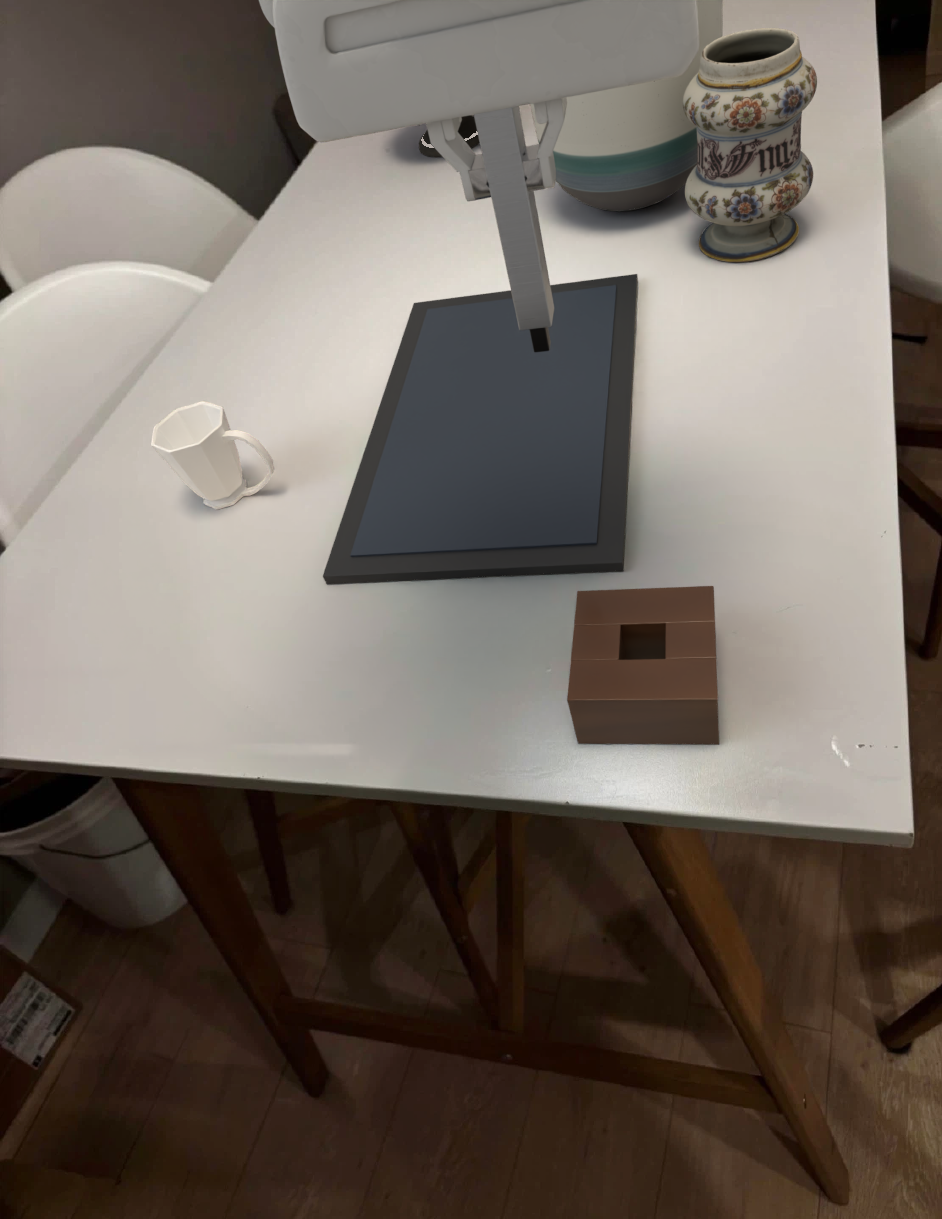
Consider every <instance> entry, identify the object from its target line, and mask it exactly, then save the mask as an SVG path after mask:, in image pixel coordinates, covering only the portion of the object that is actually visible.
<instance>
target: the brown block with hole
mask: <svg viewBox="0 0 942 1219" xmlns="http://www.w3.org/2000/svg"><path fill="white" fill-rule="evenodd" d="M715 608H716V606H715V586H714V585H697V586H695V585H694V586H671V587H647V588H646V587H645V588H643V587H642V588H621V589H619V588H618V589H617V588H615V589H596V590H593V589H592V590H591V589H590V590H577V592H576V600H575V610H574V611H575V612H574V620H573V630H572V631H573V633H572V642H571V654H570V665H569V674H568V675H569V676H568V686H567V695H566V701H567V705H568V709H569V713H570V717H571V721H572V726H573V730H574V732H575V737H576V741H577V744H578V745H580V744H581V745H582V744H583V745H705V746H706V745H709V746H711V745H713V746H715V745H716V746H717V745H720V723H719V721H720V720H719V697H718V696H719V693H718V690H719V689H718V667H717V666H718V665H717V664H718V663H717V662H718V661H717V638H716V637H717V636H716V635H717V634H716V610H715Z"/></svg>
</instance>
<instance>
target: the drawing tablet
mask: <svg viewBox="0 0 942 1219" xmlns="http://www.w3.org/2000/svg"><path fill="white" fill-rule="evenodd" d="M638 276H639V275H638V273H633V274H625V275H617V276H610V277H603V278H595V279H587V280H580V281H578V280H577V281H572V282H571V281H570V282H565V283H556V284H550V287H551V292H552V298H553V304H554V313H553V320H552V326H551V327H548V330H549V335H550V341H551V343H550V350H549V351H544V352H534V350H533V345H532V340H531V335H530V330H529V329H528V330H520V329H519V326H518V321H517V316H516V311H515V307H514V302H513V297H512V293H511V289H509V290H503V291H495V292H488V293H479V294H473V295H472V294H470V295H464V296H456V297H448V298H441V299H434V300H426V301H418V302H417V301H416V302H413V304H412V307H411V311H410V313H409V317H408V319H407V322H406V325H405V328H404V331H403V334H402V337H401V340H400V343H399V347H398V349H397V352H396V355H395V358H394V361H393V364H392V367H391V370H390V373H389V375H388V376H389V377H388V379H387V382H386V385H385V388H384V392H383V394H382V397H381V400H380V403H379V406H378V409H377V412H376V415H375V418H374V421H373V424H372V427H371V430H370V433H369V436H368V439H367V442H366V445H365V448H364V451H363V454H362V457H361V460H360V463H359V466H358V469H357V472H356V475H355V478H354V480H353V484H352V486H351V489H350V493H349V496H348V499H347V501H346V504H345V508H344V511H343V514H342V517H341V520H340V523H339V525H338V529H337V532H336V535H335V538H334V540H333V544H332V547H331V550H330V553H329V556H328V559H327V562H326V565H325V568H324V571H323V574H322V578H323V580H324V582H325V584H326V585H339V584H341V585H342V584H363V583H366V584H367V583H386V582H406V581H407V582H408V581H411V582H413V581H430V580H431V581H432V580H433V581H434V580H452V579H453V580H454V579H475V578H476V579H479V578H499V577H500V578H502V577H522V576H545V575H547V576H548V575H565V574H566V575H567V574H568V575H569V574H571V575H572V574H590V573H595V574H596V573H615V572H616V573H617V572H625V554H626V533H627V516H628V514H627V513H628V496H629V477H630V476H629V474H630V455H631V454H630V453H631V434H632V433H631V432H632V417H633V416H632V414H633V393H634V392H633V391H634V372H635V356H636V355H635V354H636V352H635V351H636V333H637V332H636V331H637V315H638V314H637V311H638V293H639V292H638V291H639V277H638Z"/></svg>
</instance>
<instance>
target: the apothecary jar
mask: <svg viewBox="0 0 942 1219" xmlns="http://www.w3.org/2000/svg"><path fill="white" fill-rule="evenodd" d="M700 65H701V66H700V68H699V72H698V73H697V74H696V75H695V77H694V78H693V79H692V80H691V82H690V83H689V85H688V86H687V88H686V91H685V93H684V97H683V109H684V113H685V115H686V117H687V118H688V120H689V121H690V122H691V123H693V124H694V125H695V126H697V165H696V166H695V167H694V169H693V170H692V171H691V173H690V175H689V177H688V179H687V181H686V183H685V184H684V197H685V201H686V203H687V205H688V208H690V210H691V211H692V212H693V213H694V214H696V215H697V216H698V217H700V218H702V219H703V220H705V221H708V222H710V224H708V225H707V226H706V227H705V228H704V230H703V231H702V232H701V234H700V236H699V240H698V247H699V249H700V251H701V252H702V253H703V254H704V255H705V256H707V257H709V258H711V259H714V260H717V261H721V262H727V263H747V262H754V261H758V260H763V259H766V258H770V257H773V256H775V255H778V254H780V253H781V252H784V250H786V249H788V248H789V247H791V245H792V244H793V243H794V242H795V241H796V240H797V238H798V236H799V233H800V227H799V224H798V222H797V221H796V219H795V218H794V217H792V216H791V215H789V214H788V213H789V212H790V211H792V210H793V209H794V208H795V207H797V206H798V205H799V204H800V203H801V202H802V201H803V200H804V199H805V198H806V197H807V195H808V193H809V192H810V190H811V188H812V185H813V180H814V169H813V165H812V163H811V160H810V159H809V157H808V156H807V155H806V153H804V152H803V151H802V137H801V136H802V116H803V111H804V110H805V109H806V108H807V107H808V106H809V105H810V103H811V102H812V101H813V98H814V96H815V94H816V93H817V92H816V91H817V89H818V88H817V87H818V77H817V72H816V70H815V68H814V67H813V65H812V63H811V62H810V61H809V60H807V58H805V57H803V54H802V51H801V44H800V38H799V36H798V34H797V33H795V32H794V31H792V30H789V29H786V28H778V27H762V28H753V29H746V30H740V31H736V32H733V33H729V34H726V35H723V37H720V38H718V39H716V40H714V41H713V42H711V43H709V44H708V45H707V46H706V47H705V48H704V49H703V51H702V54H701V61H700Z"/></svg>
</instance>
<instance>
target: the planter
mask: <svg viewBox="0 0 942 1219" xmlns="http://www.w3.org/2000/svg"><path fill="white" fill-rule="evenodd" d="M723 4H724V2H723V0H697V10H698V24H699V50H698V53H697V54H696V56H695V58H694V60H693V61H692V63H691V64H690V66H689V67H688V69H687V70H686V72H685V73H684V74H682V75H680V76H677V77H673V78H667V79H662V80H656V81H651V82H645V83H640V84H635V85H629V86H624V87H619V88H613V89H608V90H603V91H597V92H592V93H587V94H581V95H576V96H571V97H567V108H566V114H565V120H564V123H563V125H562V128H561V131H560V133H559V136H558V139H557V141H556V144H555V147H554V149H553V155H554V161H555V168H556V181H555V183H557V184H558V186H560V188H561V189H562V190H563V191H565V192H566V193H567V194H568V195H569V196H571V197H572V198H574V199H576V200H577V201H578V202H581V203H583V204H584V205H587V206H589V207H592V208H595V209H597V210H598V209H599V210H602V211H603V210H604V211H608V212H609V211H610V212H627V211H635V210H639V209H643V208H647V207H649V206H650V207H651V206H652V205H655V204H658V203H660V202H662V201H664V200H666V199H667V198H669V197H670V196H672V195H674V194H675V193H676V192H677V191H679V190H680V189H681V188H682V187H684V186H685V185H686V181H687V179H688V177H689V175H690V173H691V171H692V170H693V169H694V167H695V166H696V165H697V126H695V125H694V124H693V123H691V122H690V121H689V120H688V118H687V117H686V115H685V113H684V109H683V97H684V93H685V91H686V88H687V86H688V85H689V83H690V82H691V80H692V79H693V78H694V77H695V75H696V74H697V73H698V72H699V68H700V66H701V65H700V61H701V54H702V51H703V49H704V48H705V47H706V46H707V45H708V44H709V43H711V42H713V41H714V40H716V39H718V38H720V37H723V36H724V35H723V32H724V30H723V29H724V28H723V26H724V25H723V24H724V23H723V22H724V21H723V20H724V19H723V18H724V17H723V16H724V14H723V9H724V8H723ZM529 105H530V111H531V115H532V121H533V126H534V130H535V134H536V139H537V142H538V143H537V144H539V143H540V140H541V137H542V134H543V131H544V129H545V126H546V123H543V124H539V123H537V120H536V114H535V108H534V103H533V104H529Z"/></svg>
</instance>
